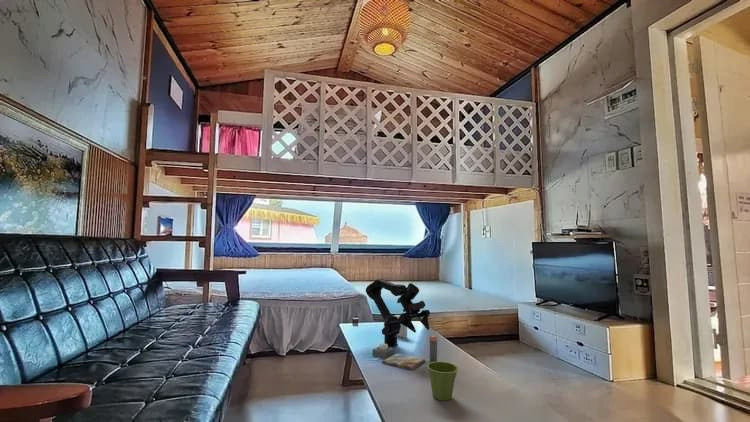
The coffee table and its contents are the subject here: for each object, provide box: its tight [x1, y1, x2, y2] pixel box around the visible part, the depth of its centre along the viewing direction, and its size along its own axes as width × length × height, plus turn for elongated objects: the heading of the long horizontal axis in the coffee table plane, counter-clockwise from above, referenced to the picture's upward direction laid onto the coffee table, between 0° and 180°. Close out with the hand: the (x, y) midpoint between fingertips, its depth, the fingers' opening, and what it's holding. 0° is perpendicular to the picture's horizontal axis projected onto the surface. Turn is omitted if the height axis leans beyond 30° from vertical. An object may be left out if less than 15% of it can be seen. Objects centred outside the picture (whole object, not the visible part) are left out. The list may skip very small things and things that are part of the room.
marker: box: [429, 334, 439, 363], centre depth 177 cm, size 4×4×12 cm
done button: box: [378, 343, 388, 351], centre depth 187 cm, size 4×4×3 cm
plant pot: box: [426, 361, 459, 402], centre depth 139 cm, size 12×12×11 cm
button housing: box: [372, 346, 395, 359], centre depth 187 cm, size 8×8×3 cm
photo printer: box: [394, 314, 408, 339], centre depth 223 cm, size 10×4×12 cm, turn 39°
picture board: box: [381, 353, 426, 371], centre depth 176 cm, size 16×14×1 cm
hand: (422, 330), depth 184 cm, fingers open, 9 cm apart
